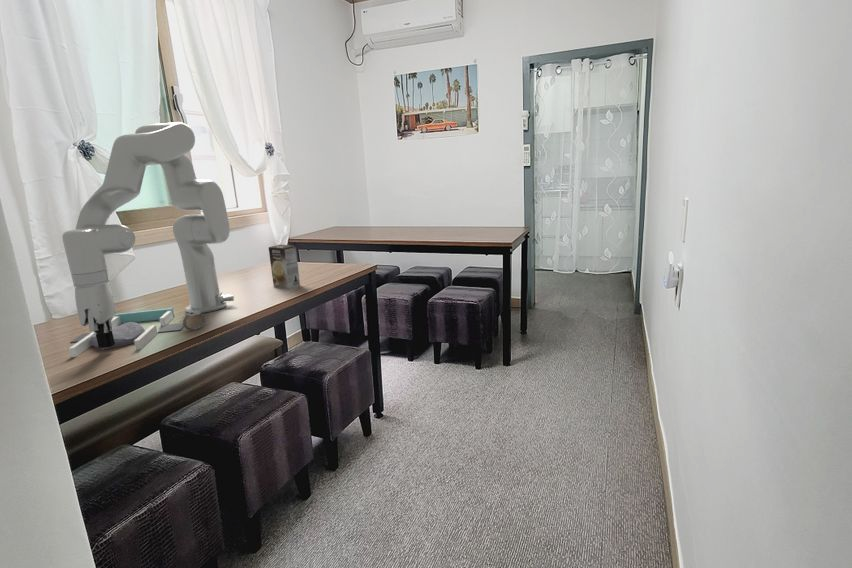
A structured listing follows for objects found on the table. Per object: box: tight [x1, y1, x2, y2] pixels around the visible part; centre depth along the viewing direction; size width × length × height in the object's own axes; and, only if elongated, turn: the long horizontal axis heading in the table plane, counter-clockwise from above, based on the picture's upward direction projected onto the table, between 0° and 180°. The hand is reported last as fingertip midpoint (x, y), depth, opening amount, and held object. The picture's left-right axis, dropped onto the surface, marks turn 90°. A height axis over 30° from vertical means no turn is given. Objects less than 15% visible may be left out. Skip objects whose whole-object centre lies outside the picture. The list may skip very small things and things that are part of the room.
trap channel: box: [68, 307, 188, 358], centre depth 135 cm, size 29×29×3 cm
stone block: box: [91, 322, 146, 351], centre depth 130 cm, size 12×5×10 cm
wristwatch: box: [182, 311, 206, 331], centre depth 137 cm, size 6×3×5 cm, turn 147°
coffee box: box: [268, 244, 301, 290], centre depth 182 cm, size 9×6×16 cm
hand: (107, 346), depth 122 cm, fingers closed
